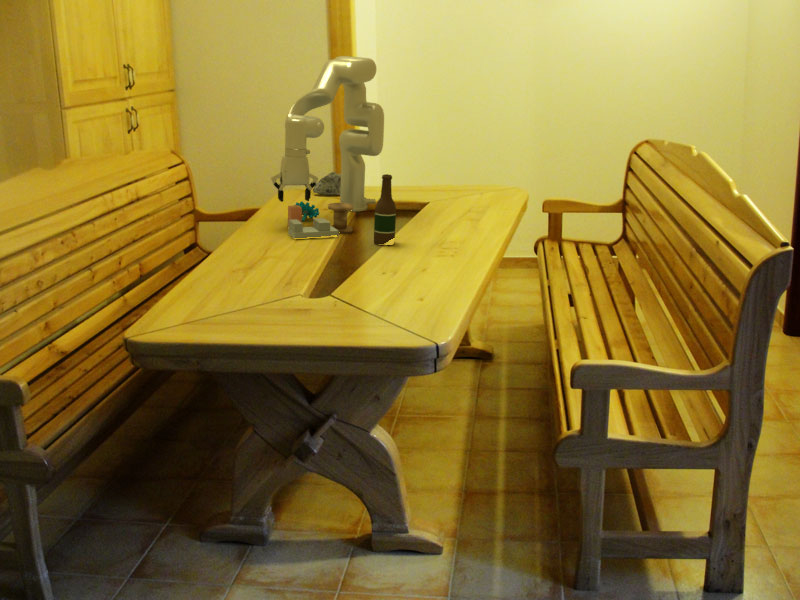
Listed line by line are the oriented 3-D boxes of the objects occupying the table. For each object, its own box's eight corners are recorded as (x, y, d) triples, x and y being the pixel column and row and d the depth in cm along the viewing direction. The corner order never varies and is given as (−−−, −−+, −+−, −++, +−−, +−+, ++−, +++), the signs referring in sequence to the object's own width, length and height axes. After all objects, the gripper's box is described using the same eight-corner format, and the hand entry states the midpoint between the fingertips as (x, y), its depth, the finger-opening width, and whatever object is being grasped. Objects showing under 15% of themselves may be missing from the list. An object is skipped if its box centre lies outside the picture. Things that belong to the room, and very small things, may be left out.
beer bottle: (398, 242, 342) (402, 174, 335) (389, 247, 335) (392, 177, 328) (379, 239, 345) (381, 172, 338) (369, 244, 338) (371, 175, 331)
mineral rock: (311, 196, 413) (312, 172, 410) (318, 191, 423) (319, 168, 420) (341, 198, 411) (341, 174, 408) (347, 194, 421) (348, 170, 418)
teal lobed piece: (324, 215, 371) (313, 199, 363) (320, 228, 368) (309, 213, 360) (298, 215, 375) (287, 200, 367) (294, 228, 373) (283, 213, 365)
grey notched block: (331, 232, 352) (331, 217, 350) (338, 237, 345) (338, 222, 343) (288, 234, 346) (288, 219, 344) (294, 240, 339) (294, 224, 337)
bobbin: (347, 227, 361) (348, 202, 358) (355, 233, 353) (356, 207, 350) (324, 228, 357) (324, 203, 354) (332, 234, 349) (332, 208, 347)
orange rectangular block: (298, 226, 358) (298, 205, 356) (301, 229, 354) (301, 207, 352) (287, 227, 357) (288, 205, 354) (290, 229, 353) (291, 208, 351)
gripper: (315, 151, 354) (314, 198, 359) (268, 151, 347) (268, 199, 352) (321, 154, 347) (320, 202, 352) (274, 154, 341) (273, 203, 345)
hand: (294, 200), depth 352 cm, fingers open, 9 cm apart
